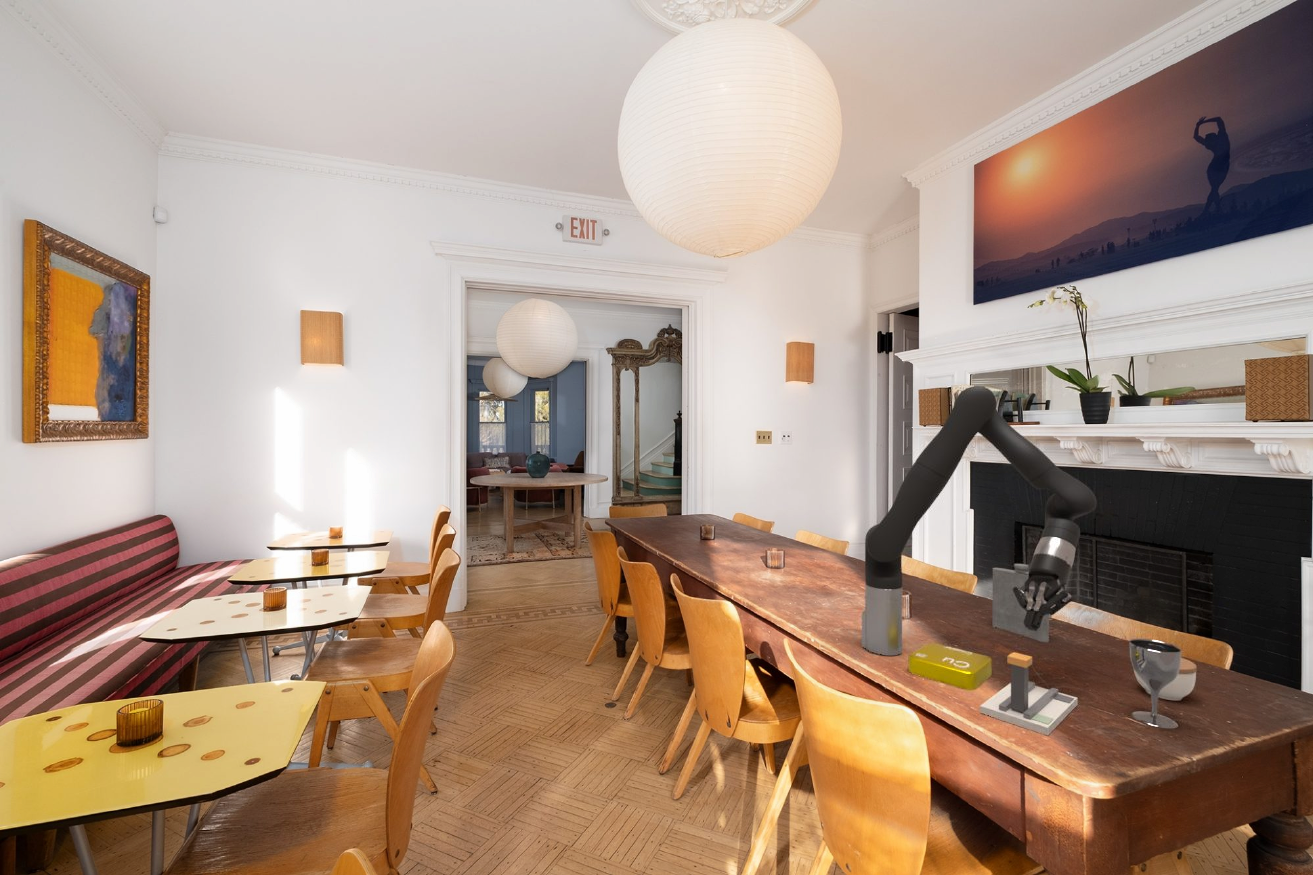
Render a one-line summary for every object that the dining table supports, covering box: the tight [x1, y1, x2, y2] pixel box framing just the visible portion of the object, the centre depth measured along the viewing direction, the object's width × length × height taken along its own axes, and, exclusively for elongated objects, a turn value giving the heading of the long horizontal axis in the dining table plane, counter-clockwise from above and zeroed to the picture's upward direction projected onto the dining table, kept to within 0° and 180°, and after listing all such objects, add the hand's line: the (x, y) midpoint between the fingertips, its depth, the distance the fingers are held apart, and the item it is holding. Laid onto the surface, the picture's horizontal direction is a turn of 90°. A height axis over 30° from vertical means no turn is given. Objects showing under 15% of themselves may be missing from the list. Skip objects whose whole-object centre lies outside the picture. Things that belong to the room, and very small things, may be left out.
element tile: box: [908, 642, 993, 691], centre depth 141 cm, size 15×15×5 cm
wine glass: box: [1129, 638, 1182, 730], centre depth 118 cm, size 8×8×15 cm
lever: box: [1006, 652, 1033, 713], centre depth 118 cm, size 3×3×11 cm
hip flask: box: [991, 563, 1050, 643], centre depth 171 cm, size 16×4×20 cm, turn 26°
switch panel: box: [979, 680, 1079, 736], centre depth 122 cm, size 12×20×2 cm, turn 131°
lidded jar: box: [1133, 657, 1198, 702], centre depth 130 cm, size 11×11×9 cm
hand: (1030, 628), depth 129 cm, fingers closed
